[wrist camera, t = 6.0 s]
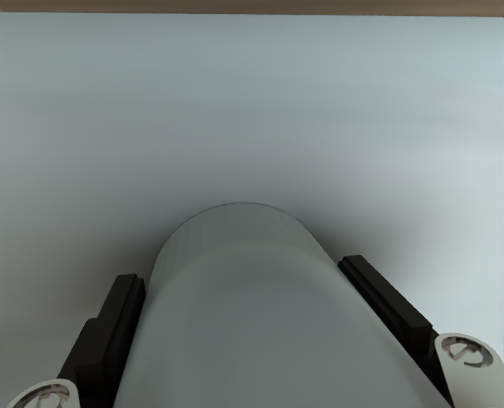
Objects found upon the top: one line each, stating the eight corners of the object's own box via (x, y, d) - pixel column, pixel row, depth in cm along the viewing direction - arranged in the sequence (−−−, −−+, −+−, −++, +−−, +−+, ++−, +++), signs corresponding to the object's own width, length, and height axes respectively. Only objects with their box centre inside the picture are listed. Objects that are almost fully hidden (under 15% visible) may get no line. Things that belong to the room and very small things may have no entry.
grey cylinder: (321, 347, 14) (465, 645, 6) (161, 366, 13) (103, 735, 6) (328, 196, 12) (544, 364, 4) (140, 208, 11) (11, 437, 4)
